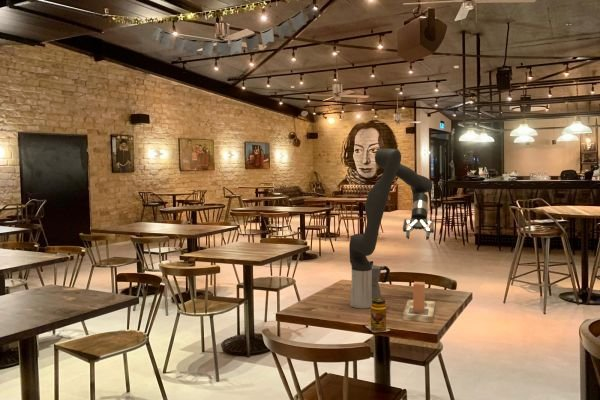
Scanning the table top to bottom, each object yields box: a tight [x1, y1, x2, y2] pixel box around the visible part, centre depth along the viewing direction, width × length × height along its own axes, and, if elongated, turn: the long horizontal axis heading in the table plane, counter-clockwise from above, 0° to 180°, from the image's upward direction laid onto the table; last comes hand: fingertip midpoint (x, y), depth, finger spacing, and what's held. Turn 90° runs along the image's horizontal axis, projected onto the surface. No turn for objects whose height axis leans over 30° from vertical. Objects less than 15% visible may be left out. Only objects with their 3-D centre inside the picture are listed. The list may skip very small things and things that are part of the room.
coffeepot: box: [369, 260, 391, 300], centre depth 252 cm, size 15×9×18 cm, turn 82°
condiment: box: [365, 298, 391, 333], centre depth 205 cm, size 7×8×12 cm
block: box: [412, 281, 426, 313], centre depth 220 cm, size 4×4×12 cm
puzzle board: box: [402, 299, 436, 323], centre depth 226 cm, size 12×24×3 cm, turn 163°
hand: (417, 238), depth 240 cm, fingers open, 8 cm apart
